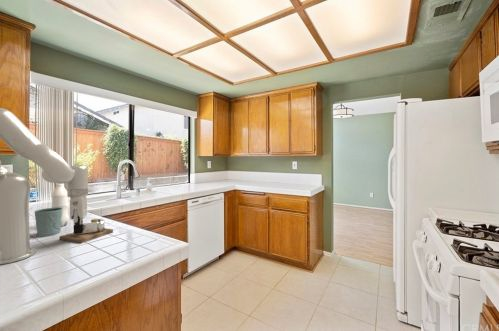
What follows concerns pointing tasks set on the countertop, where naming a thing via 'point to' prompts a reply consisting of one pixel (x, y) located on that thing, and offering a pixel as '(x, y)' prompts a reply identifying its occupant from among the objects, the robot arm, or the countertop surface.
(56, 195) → the water bottle
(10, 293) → the countertop surface
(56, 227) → the green plant pot
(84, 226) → the latch bar
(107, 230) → the lock base
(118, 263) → the countertop surface
